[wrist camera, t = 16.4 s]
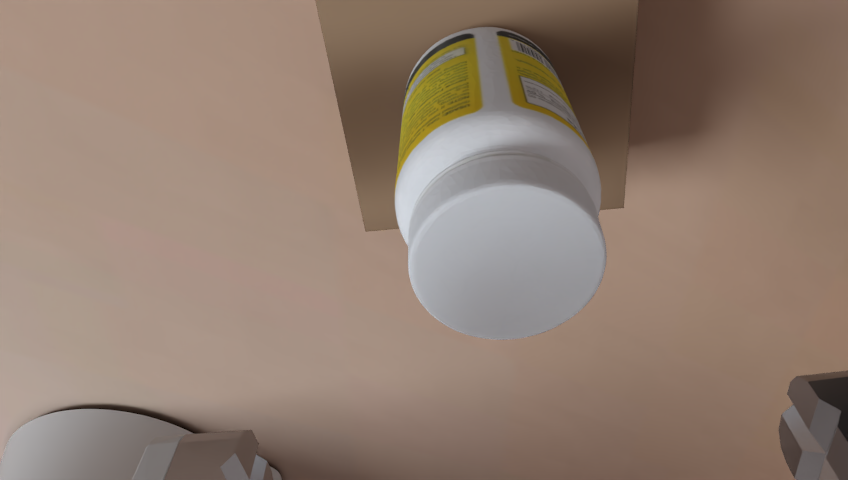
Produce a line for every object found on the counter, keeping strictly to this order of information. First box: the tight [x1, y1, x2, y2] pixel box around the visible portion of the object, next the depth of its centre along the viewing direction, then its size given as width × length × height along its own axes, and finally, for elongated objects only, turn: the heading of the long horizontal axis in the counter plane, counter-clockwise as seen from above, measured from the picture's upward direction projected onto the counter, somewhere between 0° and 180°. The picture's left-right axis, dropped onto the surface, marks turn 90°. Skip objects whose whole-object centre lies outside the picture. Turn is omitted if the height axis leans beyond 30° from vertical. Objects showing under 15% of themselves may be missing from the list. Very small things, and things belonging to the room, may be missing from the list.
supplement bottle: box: [395, 27, 607, 340], centre depth 16 cm, size 5×5×8 cm
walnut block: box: [315, 0, 639, 232], centre depth 21 cm, size 9×9×4 cm
